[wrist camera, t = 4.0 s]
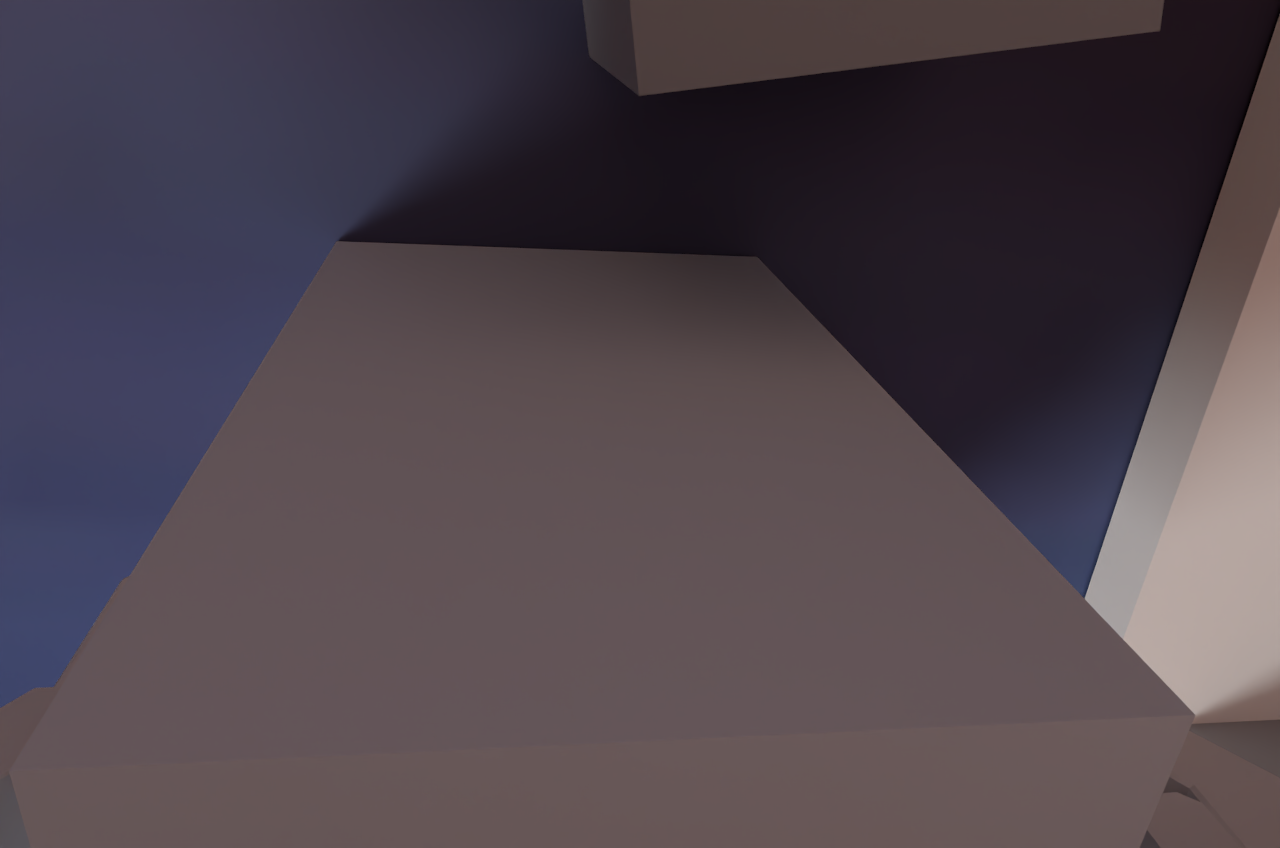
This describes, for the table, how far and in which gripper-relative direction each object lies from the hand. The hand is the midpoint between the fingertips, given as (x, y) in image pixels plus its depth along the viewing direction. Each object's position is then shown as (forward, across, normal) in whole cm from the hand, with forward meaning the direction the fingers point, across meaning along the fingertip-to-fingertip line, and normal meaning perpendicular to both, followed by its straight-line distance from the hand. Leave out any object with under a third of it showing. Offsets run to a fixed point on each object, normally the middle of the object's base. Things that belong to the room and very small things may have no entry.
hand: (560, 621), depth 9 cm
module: (+3, 0, 0) cm, 3 cm away
